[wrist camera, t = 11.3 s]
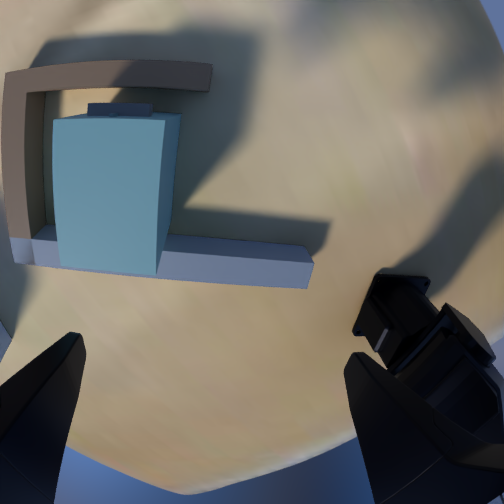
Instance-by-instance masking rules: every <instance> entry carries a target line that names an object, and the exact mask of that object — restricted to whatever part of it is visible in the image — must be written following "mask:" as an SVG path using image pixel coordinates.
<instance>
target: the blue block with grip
mask: <svg viewBox="0 0 504 504" xmlns="http://www.w3.org/2000/svg"><path fill="white" fill-rule="evenodd" d="M152 109H153V104H147V103H88V110H87V113H86V114H80V115H75V116H69V117H64V118H59V119H54V120H53V144H52V171H53V197H54V212H55V223H56V233H57V242H58V250H59V257H60V264H61V266H66V267H74V268H83V269H93V270H102V271H112V272H122V273H132V274H143V275H154V276H156V274H157V270H158V266H159V262H160V259H161V255H162V251H163V247H164V244H165V240H166V237H167V233H168V230H169V226H170V223H171V217H172V202H173V189H174V178H175V167H176V157H177V148H178V139H179V130H180V122H181V114H180V113H166V112H152Z"/></svg>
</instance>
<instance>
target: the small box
mask: <svg viewBox="0 0 504 504" xmlns="http://www.w3.org/2000/svg"><path fill="white" fill-rule="evenodd" d="M11 341H12V339H11V337H10V336H9V334H8V333H7V331H6V329H5V328H4V326H3V324H2V323H1V321H0V362H1V360H2V358H3V356H4V354H5V352H6V350H7V349H8V347H9V345H10V343H11Z"/></svg>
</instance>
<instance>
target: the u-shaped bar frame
mask: <svg viewBox="0 0 504 504" xmlns="http://www.w3.org/2000/svg"><path fill="white" fill-rule="evenodd" d="M211 74H212V64H206V63H195V62H182V61H163V60H107V61H89V62H76V63H66V64H57V65H49V66H42V67H35V68H29V69H23V70H18V71H13V72H8V73H5V82H4V92H3V105H2V127H1V153H2V176H3V190H4V200H5V209H6V217H7V224H8V231H9V237H10V243H11V248H12V253H13V258H14V263H21V264H28V265H36V266H44V267H52V268H61V269H69V270H78V271H87V272H97V273H106V274H116V275H126V276H136V277H147V278H158V279H170V280H181V281H194V282H207V283H220V284H234V285H249V286H265V287H282V288H301V289H307V287H308V284H309V280H310V277H311V273H312V270H313V267H314V262H313V260H312V258H311V257H310V255H309V253H308V252H307V250H306V248H305V247H304V246H297V245H287V244H276V243H265V242H254V241H243V240H232V239H221V238H210V237H198V236H187V235H175V234H167V237H166V240H165V244H164V247H163V251H162V255H161V259H160V262H159V266H158V270H157V274H156V276H154V275H143V274H132V273H122V272H112V271H102V270H93V269H83V268H74V267H66V266H61V264H60V257H59V250H58V242H57V233H56V225H49V224H46V215H45V203H44V186H43V120H44V105H45V93H46V91H56V90H69V89H86V88H157V89H176V90H189V91H200V92H209V86H210V80H211Z"/></svg>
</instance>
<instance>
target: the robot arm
mask: <svg viewBox="0 0 504 504" xmlns="http://www.w3.org/2000/svg"><path fill="white" fill-rule="evenodd" d="M378 280H380V281H378ZM429 285H430V279H429V278H428V277H420V276H403V275H387V274H378V275H376V276H375V277H374V279H373V281H372V283H371V286H370V289H369V291H368V294H367V296H366V299H365V301H364V303H363V306H362V308H361V310H360V313H359V315H358V317H357V320H356V322H355V325H354V327H353V329H352V333H353V334H354V336H365V337H366V339H367V340H368V342H369V344H370V345H371V347H372V349H373V351H374V352H378V354H379V355H380V357H381V359H382V361H383V362H384V364H385V366H386V368H388V369H387V370H386V369H384V368H383V367H382V366H381V365H379V364H378V363H377V362H376V361H374V360H373V359H372V358H371V357H369V356H368V355H367V354H366V353H364V352H354V353H352V354H351V356H350V358H349V360H348V362H347V364H346V366H345V368H344V378H345V384H346V390H347V395H348V401H349V407H350V411H351V415H352V419H353V422H354V426H355V429H356V433H357V437H358V440H359V444H360V447H361V451H362V455H363V458H364V462H365V466H366V470H367V474H368V478H369V482H370V486H371V489H372V494H373V498H374V502H375V504H504V379H503V377H502V375H501V374H500V373H499V372H498V370H497V369H496V368H495V367H494V365H493V364H492V363H493V362H494V361H495V359H496V356H495V355H494V352H493V350H492V349H491V347H490V345H489V343H488V341H487V340H486V338H485V336H484V334H483V333H482V332H481V331H480V330H479V329H478V328H477V327H476V326H475V325H474V324H473V323H472V322H471V321H470V319H469V318H467V317H466V316H465V315H463V314H462V313H460V312H459V311H458V310H456V309H455V308H453V307H452V306H451V305H449V304H448V303H445V304H444V305H443V307H442V309H441V311H440V312H439V311H438V310H437V308H436V307H435V306H434V305H433V304H432V303H431V302H430V300H429V299H428V298H427V297H426V296H425V294H426V291H427V289H428V287H429ZM358 330H359V331H358ZM85 361H86V349H85V345H84V341H83V337H82V335H81V334H80V333H75V332H69V333H67V334H66V335H65V336H63V337H62V338H61V339H59V340H58V341H57V342H55V343H54V344H53V345H51V346H50V347H49V348H48V349H46V350H45V351H44V352H42V353H41V354H40V355H38V356H37V357H36V358H35V359H33V360H32V361H31V362H30V363H28V364H27V365H26V366H24V367H23V368H22V369H21V370H19V371H18V372H17V373H16V374H14V375H13V376H12V377H11V378H9V379H8V380H7V381H6V382H5V383H3V384H2V385H1V386H0V504H54V503H53V502H54V499H55V493H56V488H57V482H58V477H59V472H60V467H61V463H62V458H63V454H64V449H65V445H66V441H67V437H68V433H69V429H70V426H71V422H72V418H73V415H74V411H75V408H76V404H77V401H78V397H79V392H80V386H81V381H82V375H83V370H84V365H85Z"/></svg>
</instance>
